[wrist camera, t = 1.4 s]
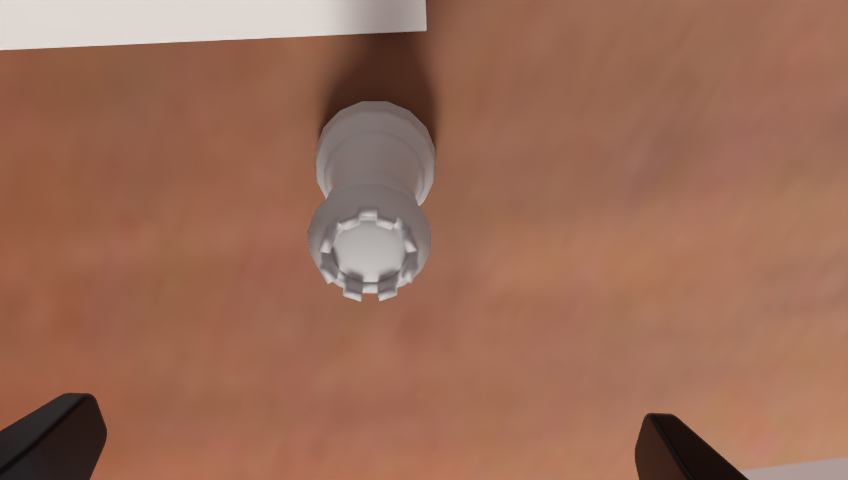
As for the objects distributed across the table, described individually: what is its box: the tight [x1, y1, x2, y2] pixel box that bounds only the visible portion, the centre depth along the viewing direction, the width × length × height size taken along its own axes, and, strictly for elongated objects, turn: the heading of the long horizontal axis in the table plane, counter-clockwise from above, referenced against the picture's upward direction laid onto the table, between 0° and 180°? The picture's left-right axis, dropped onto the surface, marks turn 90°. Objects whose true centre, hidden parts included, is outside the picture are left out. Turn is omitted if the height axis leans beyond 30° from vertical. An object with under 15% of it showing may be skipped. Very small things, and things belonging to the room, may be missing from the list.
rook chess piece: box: [308, 101, 435, 302], centre depth 17 cm, size 4×4×8 cm
